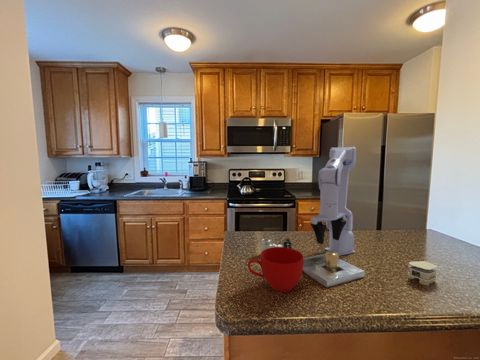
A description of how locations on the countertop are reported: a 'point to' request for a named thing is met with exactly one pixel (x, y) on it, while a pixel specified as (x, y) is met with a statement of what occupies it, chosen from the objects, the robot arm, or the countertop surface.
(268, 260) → the ceramic cup
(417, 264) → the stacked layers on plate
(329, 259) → the brass cylinder
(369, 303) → the countertop surface
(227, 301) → the countertop surface
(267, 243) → the valve
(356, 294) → the countertop surface
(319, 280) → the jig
